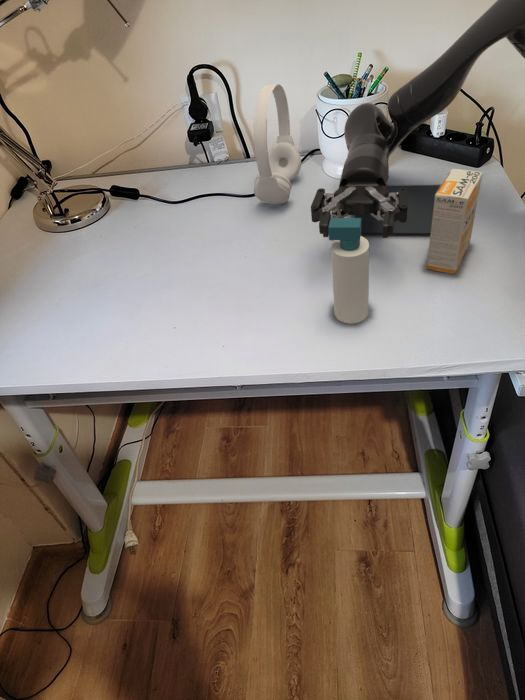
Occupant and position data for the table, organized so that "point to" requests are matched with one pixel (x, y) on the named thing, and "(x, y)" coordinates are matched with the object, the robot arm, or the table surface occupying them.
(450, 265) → the supplement box
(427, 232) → the mat
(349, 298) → the spray bottle
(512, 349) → the table surface
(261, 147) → the headphones
